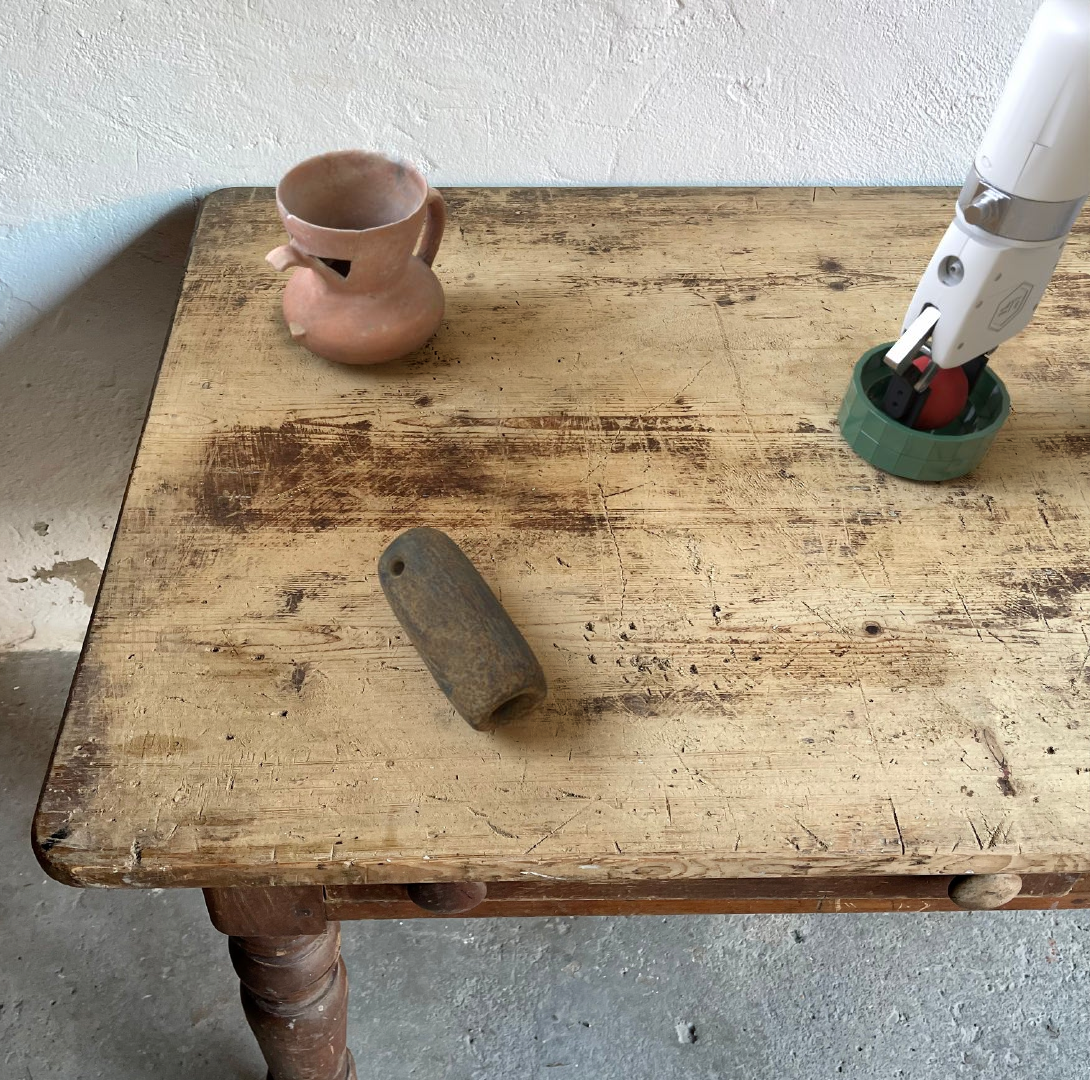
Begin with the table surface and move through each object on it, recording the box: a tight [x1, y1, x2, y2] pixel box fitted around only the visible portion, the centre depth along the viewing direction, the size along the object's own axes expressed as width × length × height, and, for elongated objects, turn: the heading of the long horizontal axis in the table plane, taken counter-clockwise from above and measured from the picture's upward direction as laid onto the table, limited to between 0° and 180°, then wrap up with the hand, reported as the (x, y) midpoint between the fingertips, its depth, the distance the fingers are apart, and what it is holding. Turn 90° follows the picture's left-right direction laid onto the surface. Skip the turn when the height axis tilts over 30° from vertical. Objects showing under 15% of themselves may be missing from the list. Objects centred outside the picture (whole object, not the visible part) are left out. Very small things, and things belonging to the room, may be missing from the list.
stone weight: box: [377, 526, 548, 733], centre depth 68 cm, size 15×7×7 cm, turn 34°
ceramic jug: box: [264, 148, 447, 365], centre depth 86 cm, size 18×14×14 cm
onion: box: [910, 356, 968, 431], centre depth 80 cm, size 6×6×8 cm
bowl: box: [836, 339, 1011, 482], centre depth 82 cm, size 12×12×5 cm
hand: (925, 401), depth 81 cm, fingers closed on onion, 5 cm apart
